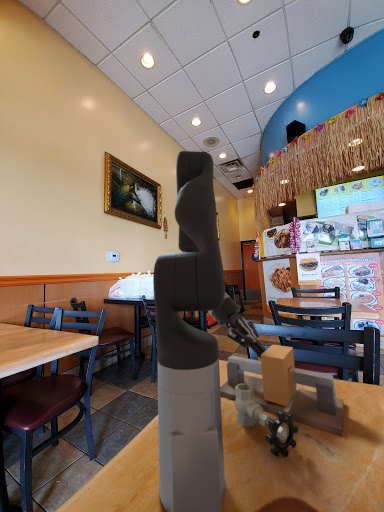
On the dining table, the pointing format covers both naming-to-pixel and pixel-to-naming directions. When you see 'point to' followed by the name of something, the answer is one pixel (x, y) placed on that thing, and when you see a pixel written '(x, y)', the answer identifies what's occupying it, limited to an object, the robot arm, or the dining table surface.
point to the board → (294, 405)
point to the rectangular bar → (298, 376)
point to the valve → (265, 420)
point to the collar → (277, 374)
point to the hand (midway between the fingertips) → (265, 356)
